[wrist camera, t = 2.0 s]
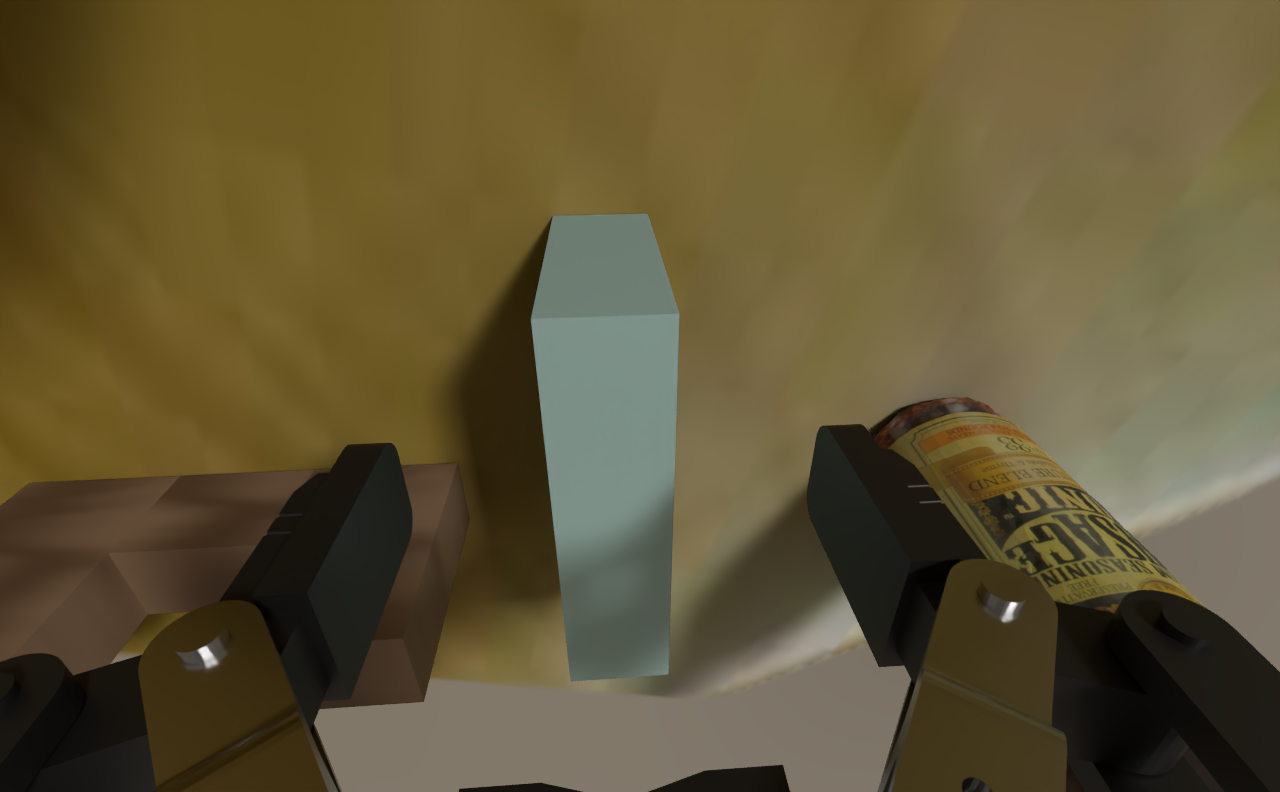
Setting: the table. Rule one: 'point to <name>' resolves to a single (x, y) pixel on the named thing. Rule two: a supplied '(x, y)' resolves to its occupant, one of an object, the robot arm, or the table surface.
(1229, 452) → the table surface
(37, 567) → the walnut u-shaped block
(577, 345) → the teal board
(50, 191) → the table surface
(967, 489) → the sauce bottle
